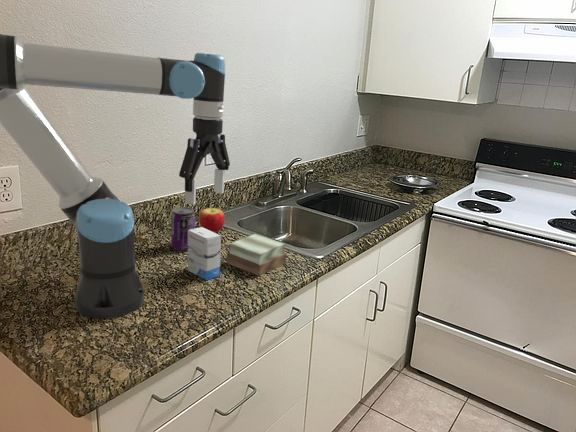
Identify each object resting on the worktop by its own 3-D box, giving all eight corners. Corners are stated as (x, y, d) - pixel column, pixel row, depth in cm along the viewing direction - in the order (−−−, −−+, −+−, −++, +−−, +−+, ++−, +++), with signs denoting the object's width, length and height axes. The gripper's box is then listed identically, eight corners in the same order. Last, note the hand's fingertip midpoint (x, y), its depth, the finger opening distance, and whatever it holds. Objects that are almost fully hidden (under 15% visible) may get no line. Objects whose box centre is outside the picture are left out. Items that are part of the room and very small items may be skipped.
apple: (220, 226, 166) (221, 198, 163) (227, 235, 159) (227, 206, 156) (196, 228, 163) (196, 199, 160) (202, 237, 156) (202, 207, 152)
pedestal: (259, 275, 131) (260, 255, 129) (226, 263, 138) (227, 243, 136) (285, 262, 140) (286, 243, 139) (254, 251, 147) (254, 232, 145)
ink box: (221, 275, 130) (222, 234, 126) (206, 281, 126) (206, 239, 123) (201, 265, 135) (201, 225, 132) (186, 270, 132) (186, 229, 128)
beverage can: (189, 253, 142) (189, 215, 139) (167, 250, 144) (166, 212, 140) (198, 245, 149) (199, 208, 145) (177, 242, 150) (176, 205, 146)
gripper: (191, 123, 111) (189, 211, 117) (244, 116, 133) (240, 190, 139) (164, 118, 113) (164, 205, 120) (221, 112, 135) (218, 186, 142)
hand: (205, 197), depth 129 cm, fingers open, 13 cm apart
